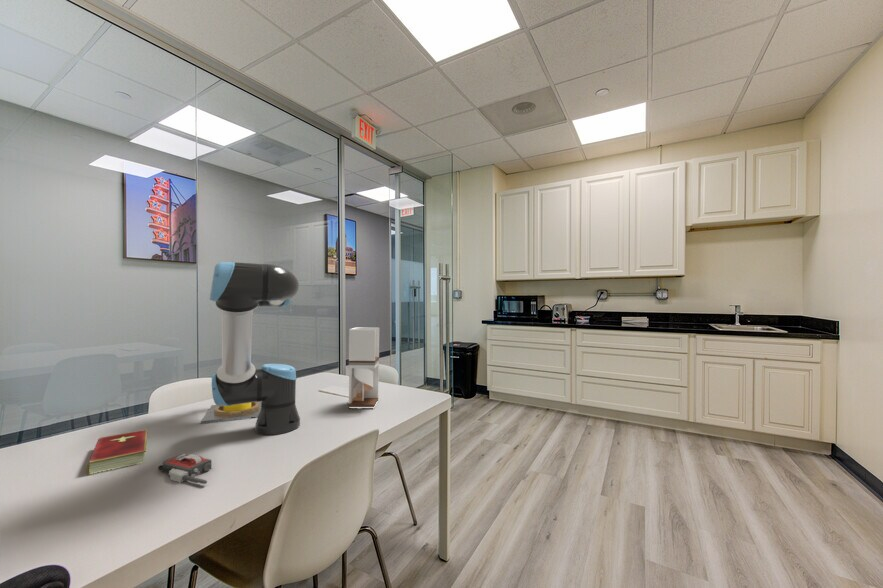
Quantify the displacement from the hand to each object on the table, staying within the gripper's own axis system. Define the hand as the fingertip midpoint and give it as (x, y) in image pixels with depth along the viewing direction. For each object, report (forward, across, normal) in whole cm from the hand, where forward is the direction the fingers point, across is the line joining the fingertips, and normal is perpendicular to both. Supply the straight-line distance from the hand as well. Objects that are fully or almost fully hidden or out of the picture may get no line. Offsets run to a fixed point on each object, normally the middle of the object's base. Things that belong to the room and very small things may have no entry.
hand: (238, 370), depth 147 cm
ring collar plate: (+18, 0, 0) cm, 18 cm away
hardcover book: (+18, +33, -27) cm, 47 cm away
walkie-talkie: (+19, +54, -5) cm, 58 cm away
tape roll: (+17, 0, 0) cm, 17 cm away
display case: (+18, +11, +51) cm, 55 cm away
